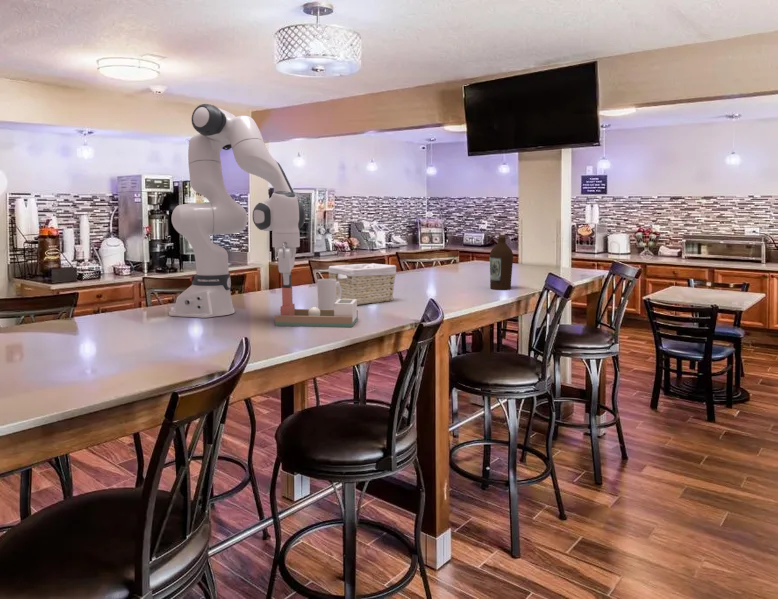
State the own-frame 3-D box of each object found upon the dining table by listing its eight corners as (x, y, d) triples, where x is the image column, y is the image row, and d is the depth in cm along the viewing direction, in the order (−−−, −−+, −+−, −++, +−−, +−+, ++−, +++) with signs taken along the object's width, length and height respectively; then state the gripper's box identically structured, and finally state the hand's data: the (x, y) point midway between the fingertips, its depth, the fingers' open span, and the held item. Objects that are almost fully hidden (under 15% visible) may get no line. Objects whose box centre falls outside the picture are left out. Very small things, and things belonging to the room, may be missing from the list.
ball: (307, 319, 205) (306, 307, 204) (309, 317, 209) (309, 305, 208) (319, 320, 205) (319, 307, 204) (321, 317, 209) (321, 306, 208)
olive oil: (500, 286, 298) (501, 233, 294) (516, 289, 289) (518, 234, 285) (484, 288, 292) (485, 234, 288) (500, 290, 283) (502, 235, 279)
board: (274, 325, 201) (274, 303, 200) (285, 318, 215) (285, 297, 214) (351, 327, 199) (351, 304, 198) (357, 319, 213) (357, 298, 212)
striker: (280, 319, 204) (279, 276, 202) (285, 315, 211) (285, 274, 209) (289, 319, 204) (288, 276, 202) (294, 315, 211) (293, 274, 209)
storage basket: (372, 296, 265) (371, 262, 263) (398, 301, 254) (398, 264, 251) (326, 302, 249) (326, 265, 247) (352, 307, 238) (352, 268, 235)
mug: (325, 315, 220) (325, 281, 218) (313, 313, 225) (313, 279, 223) (347, 312, 227) (347, 279, 225) (335, 309, 232) (335, 277, 230)
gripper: (293, 243, 194) (294, 288, 196) (297, 240, 214) (298, 280, 216) (273, 243, 193) (274, 288, 195) (278, 240, 213) (279, 280, 215)
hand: (287, 283), depth 206 cm, fingers closed on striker, 3 cm apart
